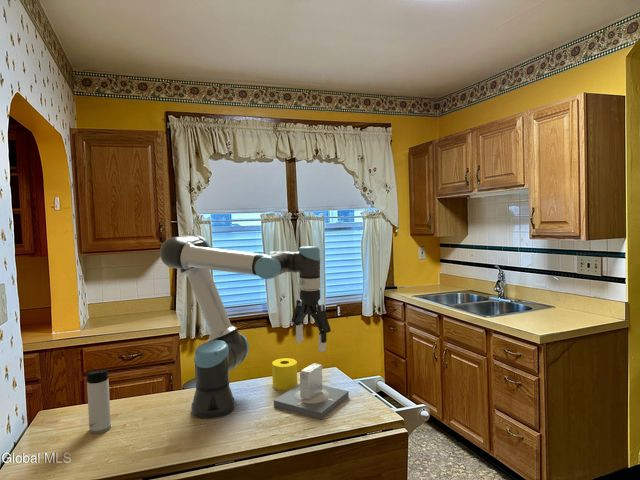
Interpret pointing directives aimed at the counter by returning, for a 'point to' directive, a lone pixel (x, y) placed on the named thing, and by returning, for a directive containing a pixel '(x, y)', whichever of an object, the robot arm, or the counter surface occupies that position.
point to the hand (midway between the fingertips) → (310, 346)
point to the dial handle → (311, 381)
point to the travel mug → (98, 401)
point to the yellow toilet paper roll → (284, 373)
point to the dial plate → (312, 402)
